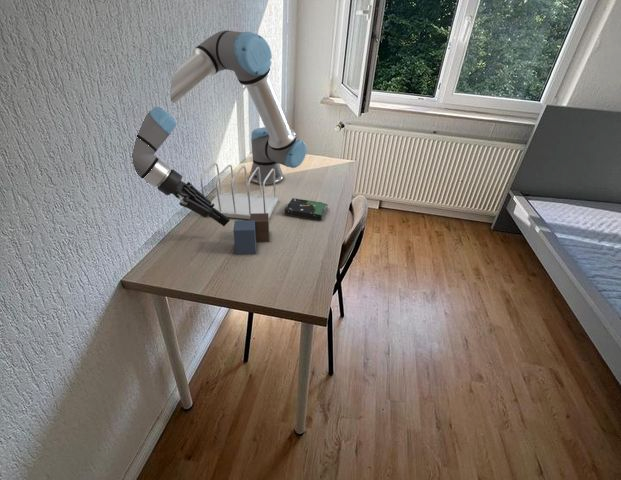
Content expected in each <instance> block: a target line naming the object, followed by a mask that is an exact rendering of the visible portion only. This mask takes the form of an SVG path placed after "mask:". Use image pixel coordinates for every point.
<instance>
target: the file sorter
mask: <svg viewBox="0 0 621 480" xmlns="http://www.w3.org/2000/svg"><path fill="white" fill-rule="evenodd" d="M214 166H216V172H217V177H216V179H215V189H216V195H215V197H214V198H213V199H212V200H211V203H212V204H214V205H215V206H214V207H213V208H215V209H216V210H218V211H219V212H220V213H222V214H223V215H225V216H226V217H227V218H233V219H243V220H250V214H254V213H268V219H270V217H271V215H272V213H273V211H274V209H275V207H276V205H277V204H278V202H279V198H278V196H277V194H276V184H275V171H274V169H271V171H270V172H269V174H268V175H267V177H266V178H265V180H264V182H263V185H261V177H260V168H259V167H257V168H256V169H255V171H254V172H253V174H252V175H251V177H250V176H249V178H248V175H247V168H246V166H245V165H242V166H241V167H240V168H239V169H238V170H237V172H236V173H235V174H234V169H233V166H232V165H231V164H228V165H226V167H225V168H224V169H223V170H221V172H220V169H219V164H218V163H217V162H213V163H212V164H211V165H210V166H209V167H208V168H207V169H206V170H205V171H204V172H202V174H201V176H200V187H201V194H203V195H204V196H205V197H206V195H205V190H204V183H203V179H204V176H205V175H206V174H207V173H208V172H209V171H210V170H212V168H214ZM229 168H230V173H231V182H230V189H231V190H230V191H231V192H224V191H222V190H223V189H222V184H221V176H222V175H223V174H224V173H225V172H226V171H227V170H228V169H229ZM243 169H244V179H245V180H244V181H245V189H246V193H236V188H235V179H236V177H238V175H239V174H240V172H241V171H243ZM257 169H258V172H259V184H258V185H259V193H260V195H257V194H250V193H251V191H250V184H251V179H252V177H253V176H254V174H255V172H256V171H257ZM272 171H273V180H274V184H273V196H267V195H266V194H265V193H266V191H265V186H266V185H265V182H266V180H267V178H268V177H269V175H270V174H271V172H272ZM212 204H211V205H212Z"/></svg>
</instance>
